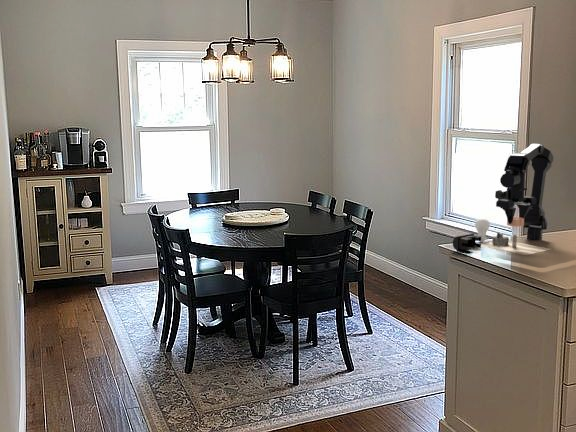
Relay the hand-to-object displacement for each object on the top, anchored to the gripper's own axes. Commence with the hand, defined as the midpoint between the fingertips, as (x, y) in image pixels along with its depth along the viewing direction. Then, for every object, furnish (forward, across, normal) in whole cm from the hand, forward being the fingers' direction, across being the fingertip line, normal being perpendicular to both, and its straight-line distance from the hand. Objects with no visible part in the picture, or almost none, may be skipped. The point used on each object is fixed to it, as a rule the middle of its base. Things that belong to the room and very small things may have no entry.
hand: (515, 222), depth 263 cm
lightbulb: (+12, -2, -18) cm, 22 cm away
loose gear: (+1, 0, 0) cm, 1 cm away
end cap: (+12, +16, -11) cm, 23 cm away
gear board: (+12, 0, 0) cm, 12 cm away
